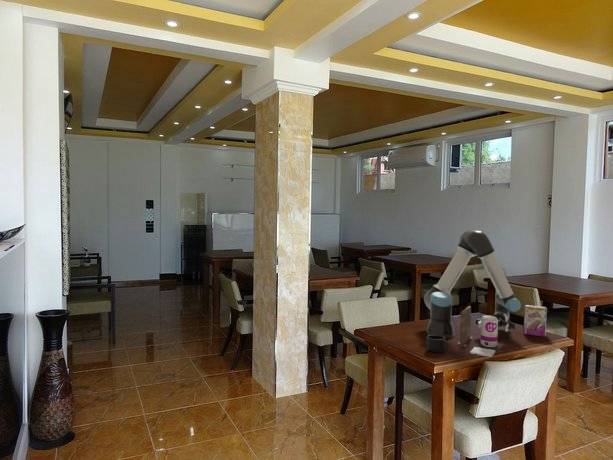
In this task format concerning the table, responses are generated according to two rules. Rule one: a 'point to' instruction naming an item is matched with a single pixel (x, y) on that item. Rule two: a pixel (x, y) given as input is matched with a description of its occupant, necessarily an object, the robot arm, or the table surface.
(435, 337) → the mug
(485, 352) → the tile
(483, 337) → the supplement can
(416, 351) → the table surface
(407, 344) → the table surface
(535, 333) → the candy bar box
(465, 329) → the screen
